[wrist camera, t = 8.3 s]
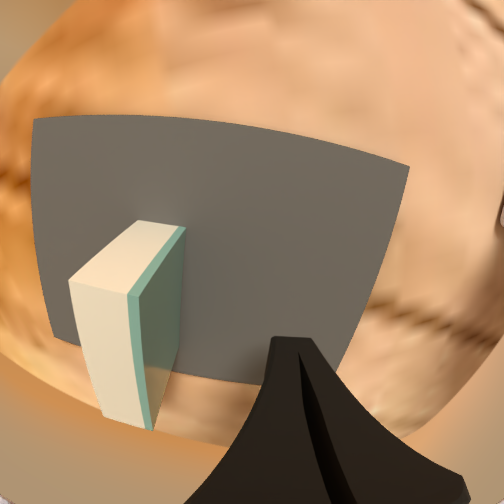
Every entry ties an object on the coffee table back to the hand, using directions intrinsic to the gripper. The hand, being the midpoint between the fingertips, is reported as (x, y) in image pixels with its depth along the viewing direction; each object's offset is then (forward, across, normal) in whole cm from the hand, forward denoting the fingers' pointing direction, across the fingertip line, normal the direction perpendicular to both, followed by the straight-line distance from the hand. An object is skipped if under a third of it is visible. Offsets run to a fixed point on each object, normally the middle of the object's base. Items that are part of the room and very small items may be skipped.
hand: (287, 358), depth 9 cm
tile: (+3, +5, 0) cm, 6 cm away
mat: (+3, +4, -1) cm, 6 cm away
